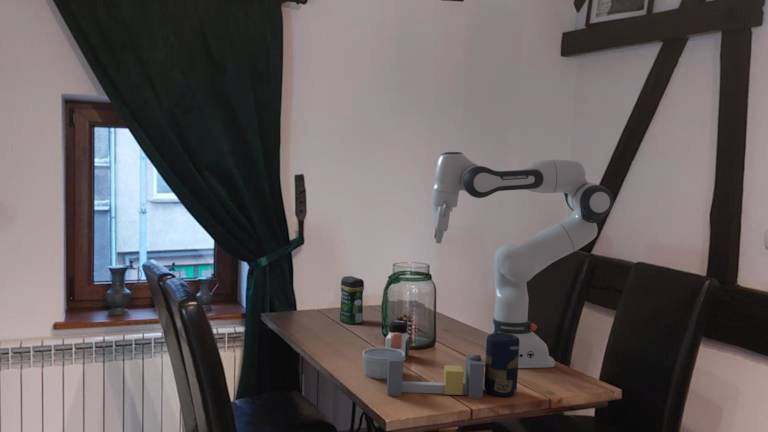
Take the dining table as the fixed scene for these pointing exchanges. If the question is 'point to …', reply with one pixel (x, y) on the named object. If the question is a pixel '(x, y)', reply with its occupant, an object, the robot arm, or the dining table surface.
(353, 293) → the coffee jar
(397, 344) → the gauge button
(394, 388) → the rail assembly
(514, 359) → the canister
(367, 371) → the ramekin
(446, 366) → the block
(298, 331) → the dining table surface
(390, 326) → the medicine bottle
